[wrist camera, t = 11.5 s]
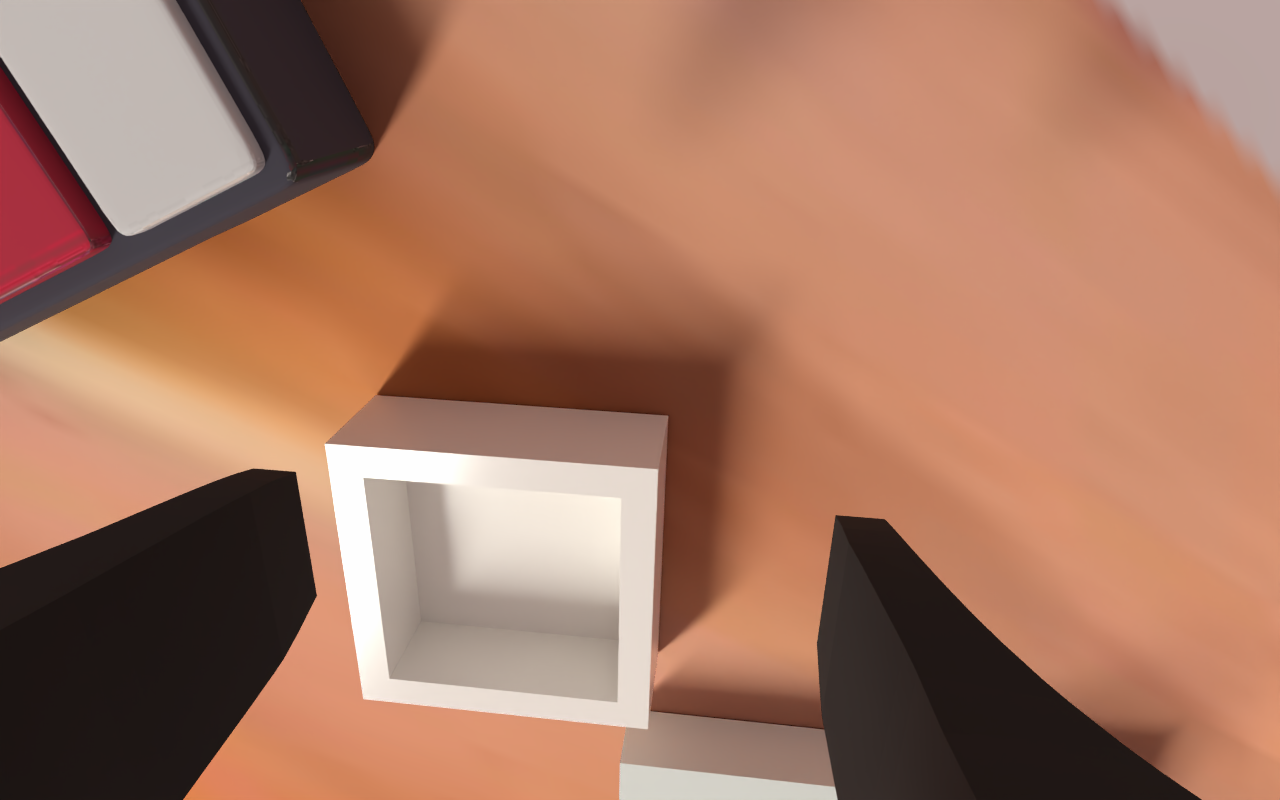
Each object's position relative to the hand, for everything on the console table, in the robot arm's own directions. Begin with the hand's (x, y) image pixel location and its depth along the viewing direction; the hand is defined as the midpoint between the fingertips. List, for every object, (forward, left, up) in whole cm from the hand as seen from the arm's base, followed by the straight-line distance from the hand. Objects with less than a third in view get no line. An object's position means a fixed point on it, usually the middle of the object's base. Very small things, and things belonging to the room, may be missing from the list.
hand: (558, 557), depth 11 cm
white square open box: (+3, +6, -9) cm, 12 cm away
